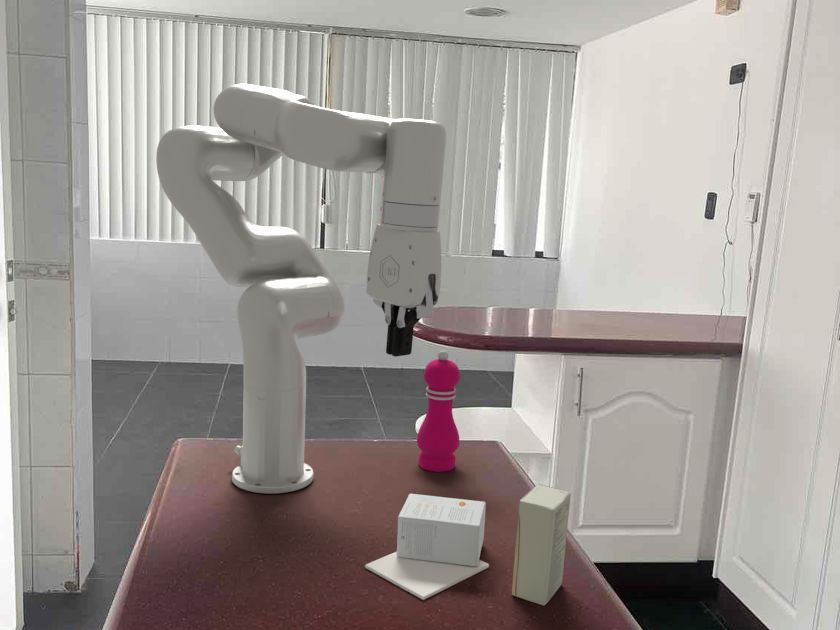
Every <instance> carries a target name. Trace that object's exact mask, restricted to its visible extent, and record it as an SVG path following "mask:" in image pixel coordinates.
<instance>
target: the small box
mask: <svg viewBox="0 0 840 630" xmlns="http://www.w3.org/2000/svg"><path fill="white" fill-rule="evenodd" d="M486 506H487V503H486V501H483V500H481V501H480V500H473V499H472V500H471V499H463V498H453V497H445V496H444V497H443V496H436V495H429V494H426V495H425V494H417V493H416V494H415V493H409V494H408V496H407V498H406V501H405V502H404V504H403V505H402V507H401V508H402V509H401V510H400V512H399V514H398V516H397V532H396V533H397V534H396V535H397V538H396V552H397V557H402V558H409V559H418V560H426V561H434V562H442V563H450V564H458V565H467V566H474V567H477V566H478V562H479V560H480V557H481V553H482V552H481V551H482V549H483V548H482V547H483V543H484V540H485V539H484V536H485V525H486V524H485V522H486V510H487V509H486V508H487V507H486Z"/></svg>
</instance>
